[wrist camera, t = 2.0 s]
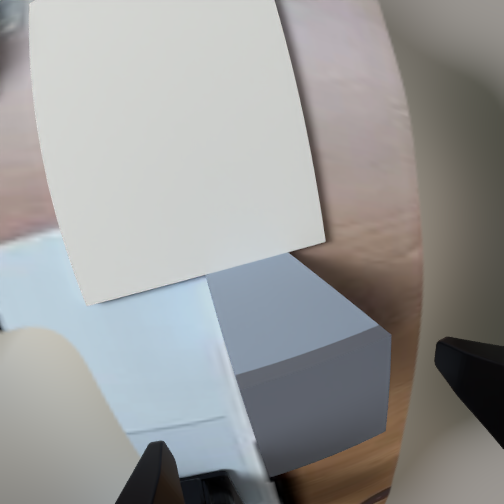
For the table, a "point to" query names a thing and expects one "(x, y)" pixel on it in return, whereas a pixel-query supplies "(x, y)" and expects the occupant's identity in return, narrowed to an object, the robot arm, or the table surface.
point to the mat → (170, 138)
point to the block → (301, 361)
